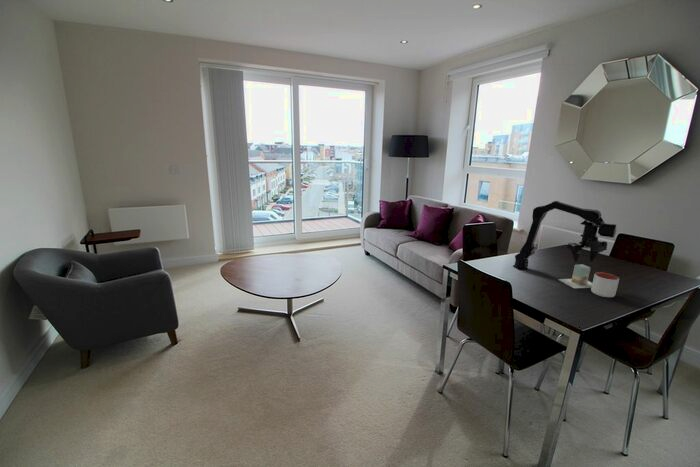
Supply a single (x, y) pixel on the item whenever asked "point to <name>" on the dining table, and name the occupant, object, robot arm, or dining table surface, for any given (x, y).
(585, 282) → the maple block
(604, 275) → the cup
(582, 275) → the sage block
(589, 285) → the white flat rectangular panel
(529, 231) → the robot arm
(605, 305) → the dining table surface
